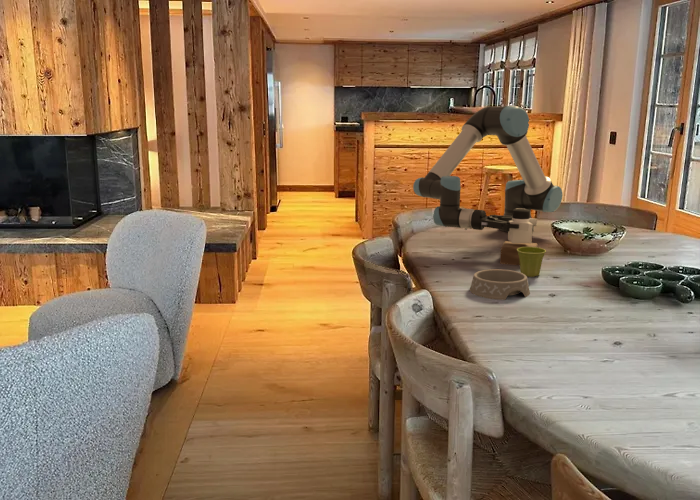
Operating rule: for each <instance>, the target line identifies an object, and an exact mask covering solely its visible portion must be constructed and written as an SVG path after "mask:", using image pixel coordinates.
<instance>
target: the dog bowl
mask: <svg viewBox="0 0 700 500" xmlns="http://www.w3.org/2000/svg"><path fill="white" fill-rule="evenodd" d="M528 280H529V279H528V277H527V276H526V275H525V274H523V273H521V272H519V271H517V270H510V269H500V268H499V269H495V268H494V269H492V268H491V269H484V270H479V271H476V272H474V274H473V277H472V280H471V284H470V288H469V292H470V291H471V292H470V293H471V294H473V295H474V294H475V296H476V297H480V298H483V297H484V299H488V300H489V299H490V300H497V301H498V300H499V301H502V300H503V301H505V300H507V297H508V296H514V295H518V294H520V293H522V294H523V295H524V297H525V298H526V297H528V296H530V294H531V292H530V287H529V281H528Z"/></svg>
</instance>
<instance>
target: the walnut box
mask: <svg viewBox="0 0 700 500" xmlns="http://www.w3.org/2000/svg"><path fill="white" fill-rule="evenodd" d="M520 247H538V248H539V246H538V243H537V242H532V243H512V242H510V241H509V240H505V241H504V242H503V243H502V246H501V248H500V258H499V262H500V265H510V266H511V265H515V266H520V261H519V255H518V251H517V249H518V248H520Z"/></svg>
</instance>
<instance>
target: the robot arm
mask: <svg viewBox="0 0 700 500" xmlns="http://www.w3.org/2000/svg"><path fill="white" fill-rule="evenodd" d="M529 122H530V118H529V115H528V113H527V111H526V110H525V109H524V108H522V107H521V106H515V105H507V106H506V105H504V106H503V105H500V106H498V105H496V106H495V105H489V106H484V107H483V108H481V109H479V110H477V111H476V112H475V113H473V114H472V116H470V117H469V118H468V119H467V120H466V121H465V123H464V124H463V125H462V126H461V131H460V132H459V134H458V135H457V136H456V137H455V139H454V140H453V141H452V142H451V144H450V145H449V146H448V147H447V149H446V150H445V151H444V153H443V154H442V155H441V156H440V158H438V160H437V161H436V162H435V164H434V165H433V166H432V167H431V169H429V171H428V173H427V174H426V175H425V176H423V177H418V178H416V179H415V181H414V182H413V186H412V187H413V188H412V189H413V192H414V194H415V195H417V196H418V197H422V198H427V199H434V200H439V206H436V207H434V210H433V214H432V217H433V218H432V219H433V222H434V224H435V225H436V226H441V227H445V228H456V229H457V228H458V229H464V230H465V231H467V230H469V229H470V230H472V229H473V230H477V231H478V230H479V231H482V230H484V229H485V228H492V229H497V230H499V231H502V232H504V233H508V231H510V229H512V230H523V231H529V223H522V222H511V223H510V222H509V221H513V220H512V215H513V210H514V209H518V208H523V209H528V210H529V211H530V219H529V222H530V223H532V224H533V230H532V233H533V232H534V230H535V227H537V226H538V218H533V217H532V214H531V212H532V211H538V212H542V213H543V212H544V213H555V212H556V211H557V210H558V209H559V208H560V206H561V204H562V202H563V201H562V200H563V190H562V187H561V186H559V185H554V183H553V182H552V179H551V178H550V177H549V176H546V175H545V173H544V171H543V169H542V167H541V165H540V163H539V161H538V159H537V157H536V154H535V153H534V150H533V148H532V146H531V144H530V141H529V139H528V136H527V135H528V130H529V127H530V123H529ZM488 136H497V138H498V141H499V142H500V144H501V145H502V146H506V148H507V150H508V152H509V154H510V157H511V159H512V160H513V162H514V165H515V166H516V168H517V170H518V172H519V174H520V177H521V179H515V180H514V179H513V180H508V181H507V182H506V183H505V189H504V211H503V212H504V213H503V215H501V214H490V215H487V213H486V211H485V210H484V209H474V208H464V207H463V208H462V207H461V206H460V204H461V189H462V186H461V178H460V177H459V176H455V175H452V173H454V171H455V169H456V168H458V166H459V164H460V163H461V162H462V161H463V160H464V159H465V158H466V156H467V155H468V153H469V152H470V151H471V150H472V149H473V147H474V145H476V143H479V142H481V141H482V140H483V139H484V138H485V137H488Z"/></svg>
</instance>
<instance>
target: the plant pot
mask: <svg viewBox="0 0 700 500" xmlns="http://www.w3.org/2000/svg"><path fill="white" fill-rule="evenodd" d="M517 251H518V255H519V261H520V265H519V270H520V273H523V274H525V275H526V276H527V278H529V277H531V278H534V277H537V276H538V277H539V276H540V273H541V268H542V264H543V258H544V256H545V253H547V250H546V249H544V248H541V247H539V246H538V247H520V248H518V249H517Z"/></svg>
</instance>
